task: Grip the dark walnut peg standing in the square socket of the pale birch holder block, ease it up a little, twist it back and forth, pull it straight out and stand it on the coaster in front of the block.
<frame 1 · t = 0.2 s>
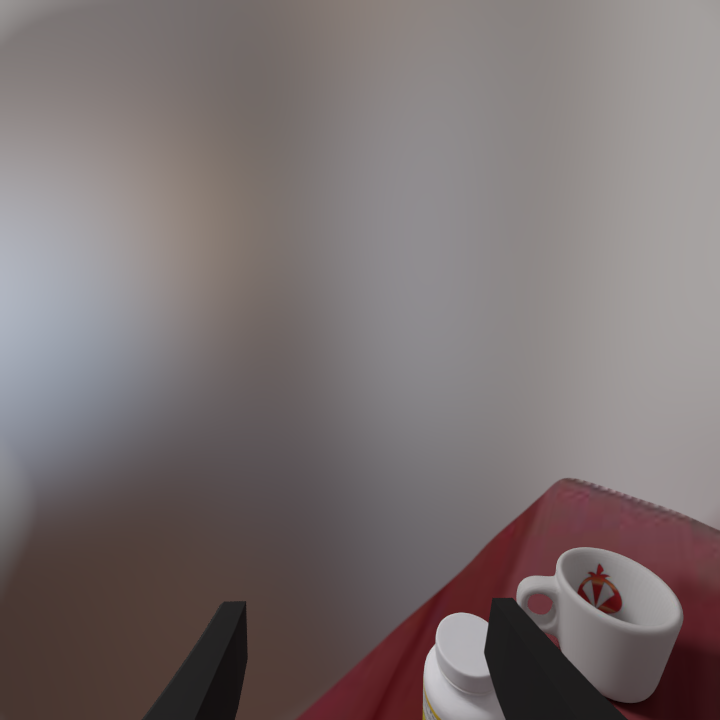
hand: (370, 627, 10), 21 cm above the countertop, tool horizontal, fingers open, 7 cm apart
cup: (582, 662, 30), on the countertop
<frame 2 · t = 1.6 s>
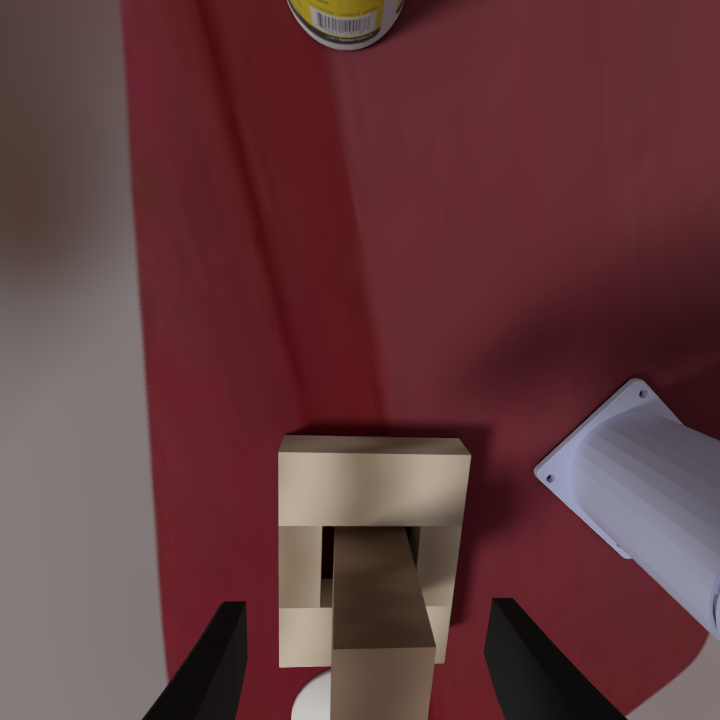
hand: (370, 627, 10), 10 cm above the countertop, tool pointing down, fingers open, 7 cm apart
holder block: (366, 541, 22), on the countertop
coaster: (356, 712, 25), on the countertop
plug peg: (372, 598, 18), in the holder block
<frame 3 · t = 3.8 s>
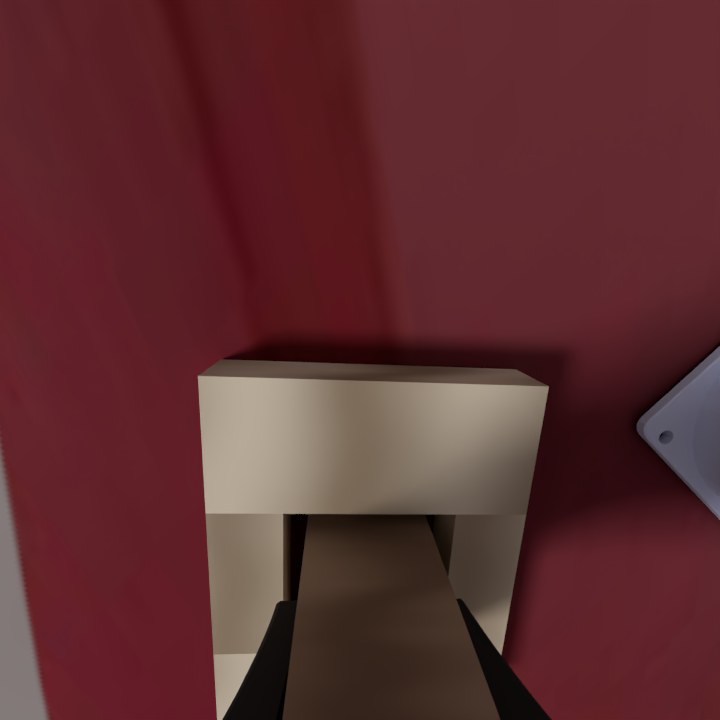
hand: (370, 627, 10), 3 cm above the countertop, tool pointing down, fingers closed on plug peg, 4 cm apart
holder block: (362, 541, 14), on the countertop
plug peg: (372, 647, 10), in the holder block, touching gripper
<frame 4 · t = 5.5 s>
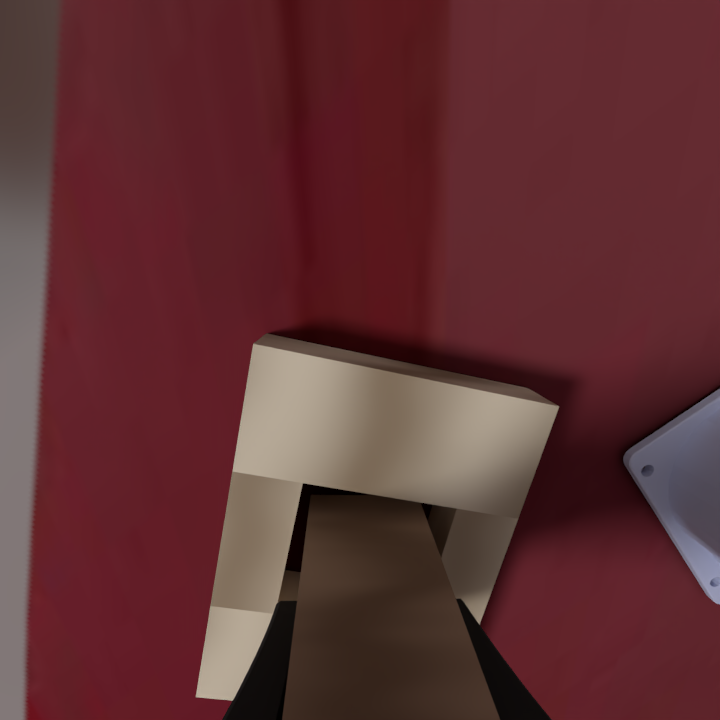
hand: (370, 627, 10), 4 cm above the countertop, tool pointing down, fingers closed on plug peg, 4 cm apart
holder block: (360, 524, 15), on the countertop
plug peg: (371, 647, 10), point 5 cm above the countertop, touching gripper
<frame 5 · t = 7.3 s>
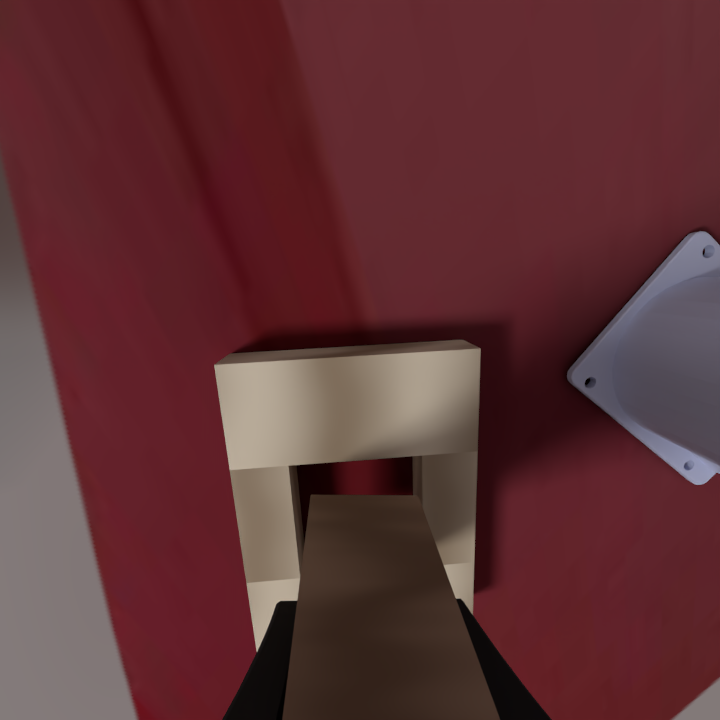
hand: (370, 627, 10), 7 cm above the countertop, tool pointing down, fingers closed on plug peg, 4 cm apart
holder block: (356, 490, 17), on the countertop
plug peg: (371, 647, 10), point 7 cm above the countertop, touching gripper
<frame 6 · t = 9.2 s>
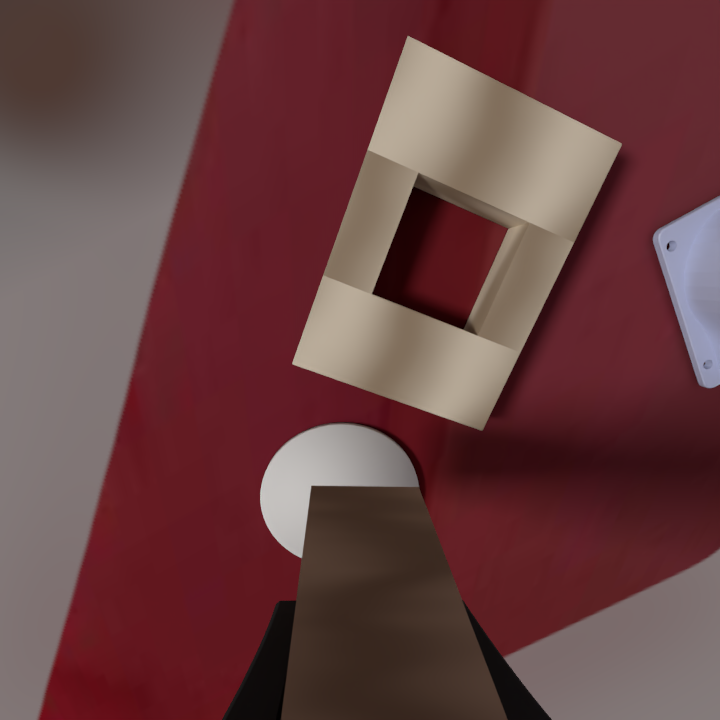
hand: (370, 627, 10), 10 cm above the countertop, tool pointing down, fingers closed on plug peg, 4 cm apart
holder block: (437, 260, 18), on the countertop
coaster: (340, 494, 20), on the countertop
plug peg: (372, 635, 10), point 10 cm above the countertop, touching gripper
when the fingers open (5 cm above the countertop, at t = 11.0 s): plug peg drops 1 cm, resting on coaster.
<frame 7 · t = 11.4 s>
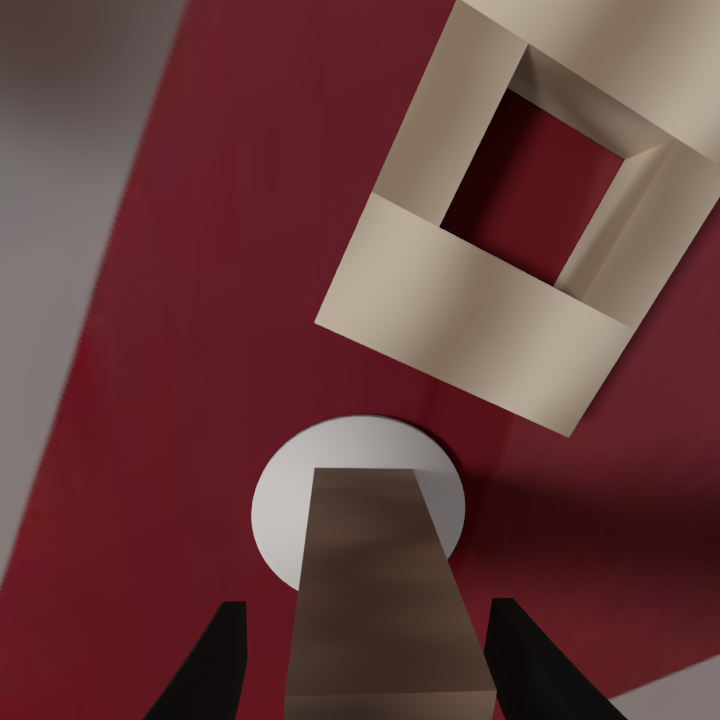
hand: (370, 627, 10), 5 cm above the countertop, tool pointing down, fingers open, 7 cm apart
holder block: (523, 197, 13), on the countertop
coaster: (359, 511, 15), on the countertop
plug peg: (369, 594, 11), on the coaster
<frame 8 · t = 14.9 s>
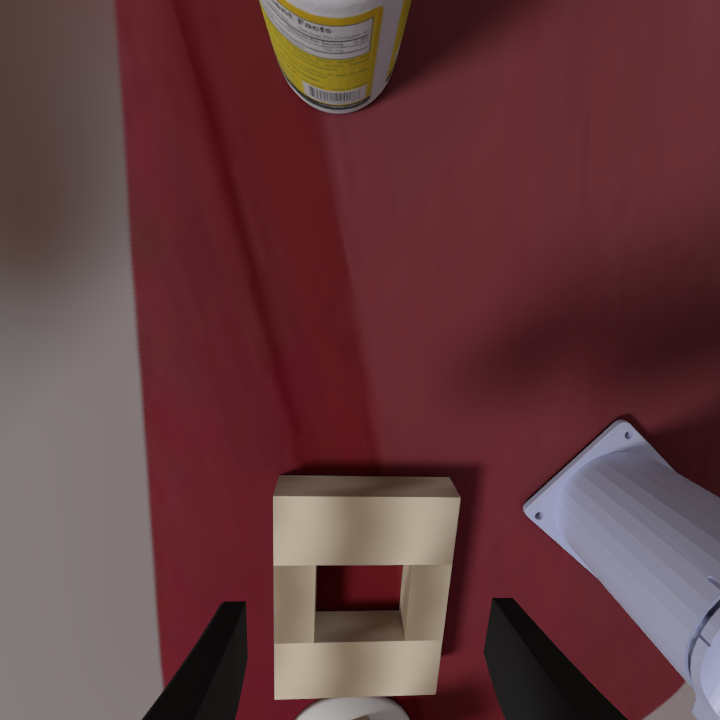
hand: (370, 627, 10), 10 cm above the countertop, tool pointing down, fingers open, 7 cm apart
holder block: (359, 576, 22), on the countertop
supplement bottle: (335, 52, 16), on the countertop
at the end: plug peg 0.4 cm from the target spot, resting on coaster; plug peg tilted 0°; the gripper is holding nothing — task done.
